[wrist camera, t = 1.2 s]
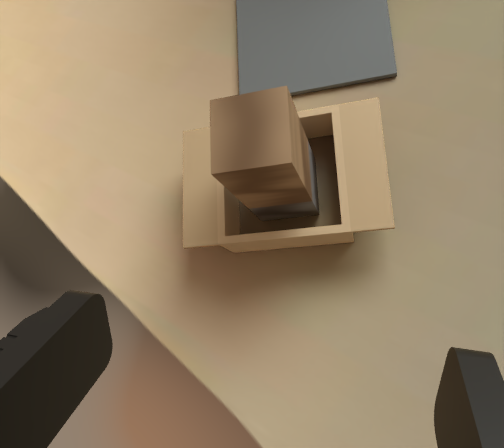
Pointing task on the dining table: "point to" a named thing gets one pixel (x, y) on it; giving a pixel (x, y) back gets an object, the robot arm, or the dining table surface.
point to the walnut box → (263, 154)
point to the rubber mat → (312, 44)
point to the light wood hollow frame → (348, 173)
